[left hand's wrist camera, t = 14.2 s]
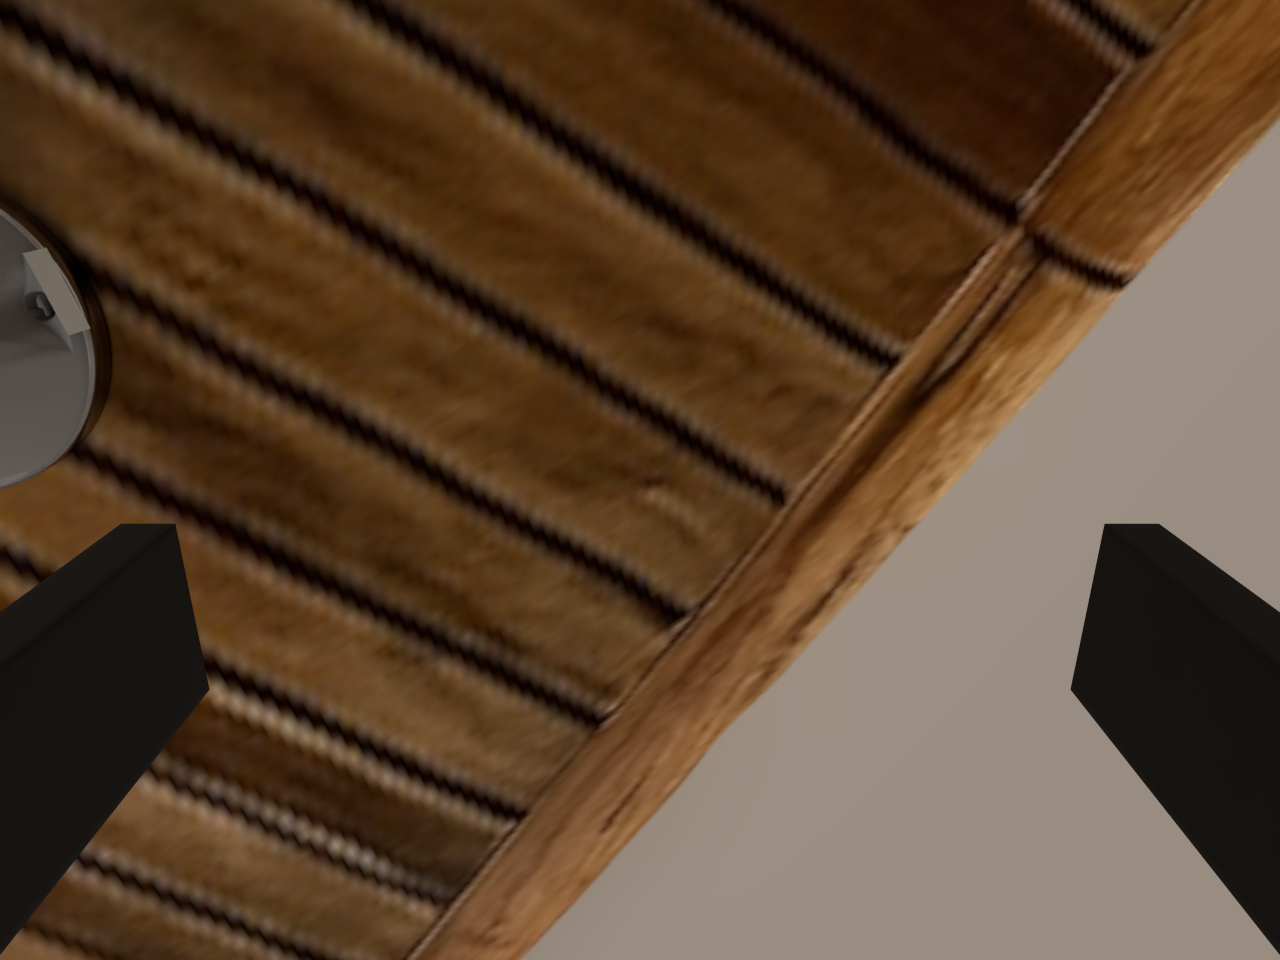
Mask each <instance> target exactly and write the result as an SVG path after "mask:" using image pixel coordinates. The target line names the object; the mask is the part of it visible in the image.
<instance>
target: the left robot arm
mask: <svg viewBox="0 0 1280 960" xmlns="http://www.w3.org/2000/svg"><path fill="white" fill-rule="evenodd" d="M110 370H111V363H110V348H109V341H108V335H107V331H106V327H105V323H104V320H103V317H102V314H101V311H100V308H99V305H98V303H97V301H96V298H95V296H94V294H93V291H92V290H91V288H90V286H89V284H88V282H87V280H86V278H85V277H84V275H83V273H82V272H81V270H80V269H79V267H78V266H77V264H76V263H75V261H74V260H73V259H72V257H71V256H70V255H69V253H68V252H67V251H66V249H65V248H64V247H63V246H62V245H61V244H60V243H59V241H58V240H57V239H56V238H55V237H54V236H53V235H52V234H51V233H50V232H49V231H48V230H47V229H46V228H45V227H44V226H43V225H42V224H41V223H40V222H39V221H38V220H36V219H35V218H34V217H33V216H31V215H30V214H29V213H28V212H27V211H25V210H24V209H23V208H21V207H20V206H18V205H17V204H15V203H14V202H12V201H11V200H10V199H8V198H6V197H5V196H3V195H1V194H0V488H4V487H8V486H11V485H14V484H17V483H20V482H22V481H24V480H27V479H29V478H31V477H33V476H35V475H37V474H39V473H40V472H42V471H44V470H46V469H48V468H49V467H51V466H53V465H55V464H56V463H58V462H60V461H61V460H63V459H65V458H66V457H67V456H68V455H70V454H71V453H72V452H74V451H75V450H76V449H77V448H78V447H79V446H80V445H81V444H82V443H83V442H84V440H85V439H86V438H87V437H88V435H89V434H90V433H91V431H92V430H93V428H94V426H95V425H96V423H97V421H98V419H99V417H100V415H101V412H102V410H103V408H104V404H105V401H106V398H107V394H108V388H109V383H110ZM208 691H209V685H208V680H207V676H206V671H205V666H204V661H203V656H202V651H201V646H200V642H199V637H198V632H197V627H196V622H195V617H194V612H193V607H192V603H191V598H190V593H189V588H188V583H187V578H186V573H185V569H184V564H183V559H182V554H181V549H180V544H179V539H178V534H177V530H176V525H175V524H120V525H119V526H117V527H116V528H115V529H113V530H112V531H111V532H109V533H108V534H107V535H105V536H104V537H102V538H101V539H100V540H98V541H97V542H96V543H94V544H93V545H92V546H90V547H89V548H87V549H86V550H85V551H83V552H82V553H81V554H79V555H78V556H76V557H75V558H74V559H72V560H71V561H70V562H68V563H67V564H66V565H64V566H63V567H61V568H60V569H59V570H57V571H56V572H55V573H53V574H52V575H51V576H49V577H48V578H46V579H45V580H44V581H42V582H41V583H40V584H38V585H37V586H36V587H34V588H33V589H31V590H30V591H29V592H27V593H26V594H25V595H23V596H22V597H20V598H19V599H18V600H16V601H15V602H14V603H12V604H11V605H10V606H8V607H7V608H5V609H4V610H3V611H1V612H0V954H1V953H2V952H3V951H4V949H5V948H6V947H7V946H8V944H9V943H10V942H11V940H12V939H13V938H14V937H15V935H16V934H17V933H18V932H19V930H20V929H21V928H22V927H23V925H24V924H25V923H26V921H27V920H28V919H29V918H30V916H31V915H32V914H33V913H34V911H35V910H36V909H37V907H38V906H39V905H40V904H41V902H42V901H43V900H44V899H45V897H46V896H47V895H48V894H49V892H50V891H51V890H52V888H53V887H54V886H55V885H56V883H57V882H58V881H59V880H60V878H61V877H62V876H63V875H64V873H65V872H66V871H67V869H68V868H69V867H70V866H71V864H72V863H73V862H74V861H75V859H76V858H77V857H78V856H79V854H80V853H81V852H82V850H83V849H84V848H85V847H86V845H87V844H88V843H89V842H90V840H91V839H92V838H93V837H94V835H95V834H96V833H97V831H98V830H99V829H100V828H101V826H102V825H103V824H104V823H105V821H106V820H107V819H108V818H109V816H110V815H111V814H112V812H113V811H114V810H115V809H116V807H117V806H118V805H119V804H120V802H121V801H122V800H123V798H124V797H125V796H126V795H127V793H128V792H129V791H130V790H131V788H132V787H133V786H134V785H135V783H136V782H137V781H138V779H139V778H140V777H141V776H142V774H143V773H144V772H145V771H146V769H147V768H148V767H149V766H150V764H151V763H152V762H153V760H154V759H155V758H156V757H157V755H158V754H159V753H160V752H161V750H162V749H163V748H164V747H165V745H166V744H167V743H168V741H169V740H170V739H171V738H172V736H173V735H174V734H175V733H176V731H177V730H178V729H179V728H180V726H181V725H182V724H183V722H184V721H185V720H186V719H187V717H188V716H189V715H190V714H191V712H192V711H193V710H194V708H195V707H196V706H197V705H198V703H199V702H200V701H201V700H202V698H203V697H204V696H205V695H206V693H207V692H208ZM1071 691H1072V692H1073V693H1074V695H1075V696H1076V697H1077V698H1078V699H1079V701H1080V702H1081V703H1082V705H1083V706H1084V707H1085V708H1086V710H1087V711H1088V712H1089V714H1090V715H1091V716H1092V717H1093V719H1094V720H1095V721H1096V722H1097V724H1098V725H1099V726H1100V727H1101V729H1102V730H1103V731H1104V733H1105V734H1106V735H1107V736H1108V738H1109V739H1110V740H1111V741H1112V743H1113V744H1114V745H1115V746H1116V748H1117V749H1118V750H1119V751H1120V753H1121V754H1122V755H1123V757H1124V758H1125V759H1126V760H1127V762H1128V763H1129V764H1130V766H1131V767H1132V768H1133V769H1134V771H1135V772H1136V773H1137V774H1138V776H1139V777H1140V778H1141V779H1142V781H1143V782H1144V783H1145V784H1146V786H1147V787H1148V788H1149V790H1150V791H1151V792H1152V793H1153V795H1154V796H1155V797H1156V798H1157V800H1158V801H1159V802H1160V804H1161V805H1162V806H1163V807H1164V809H1165V810H1166V811H1167V812H1168V814H1169V815H1170V816H1171V818H1172V819H1173V820H1174V821H1175V823H1176V824H1177V825H1178V826H1179V828H1180V829H1181V830H1182V831H1183V833H1184V834H1185V835H1186V837H1187V838H1188V839H1189V840H1190V842H1191V843H1192V844H1193V845H1194V847H1195V848H1196V849H1197V850H1198V852H1199V853H1200V854H1201V856H1202V857H1203V858H1204V859H1205V861H1206V862H1207V863H1208V864H1209V866H1210V867H1211V868H1212V869H1213V871H1214V872H1215V873H1216V875H1217V876H1218V877H1219V878H1220V880H1221V881H1222V882H1223V883H1224V885H1225V886H1226V887H1227V888H1228V890H1229V891H1230V892H1231V894H1232V895H1233V896H1234V897H1235V899H1236V900H1237V901H1238V902H1239V904H1240V905H1241V906H1242V907H1243V909H1244V910H1245V911H1246V913H1247V914H1248V915H1249V916H1250V918H1251V919H1252V920H1253V921H1254V923H1255V924H1256V925H1257V926H1258V928H1259V929H1260V930H1261V932H1262V933H1263V934H1264V935H1265V937H1266V938H1267V939H1268V940H1269V942H1270V943H1271V944H1272V946H1273V947H1274V948H1275V949H1276V951H1277V952H1278V953H1279V954H1280V612H1279V611H1277V610H1276V609H1275V608H1273V607H1272V606H1270V605H1269V604H1268V603H1266V602H1265V601H1264V600H1262V599H1261V598H1260V597H1258V596H1257V595H1255V594H1254V593H1253V592H1251V591H1250V590H1249V589H1247V588H1246V587H1244V586H1243V585H1242V584H1240V583H1239V582H1238V581H1236V580H1235V579H1234V578H1232V577H1231V576H1229V575H1228V574H1227V573H1225V572H1224V571H1223V570H1221V569H1220V568H1219V567H1217V566H1216V565H1214V564H1213V563H1212V562H1210V561H1209V560H1208V559H1206V558H1205V557H1204V556H1202V555H1201V554H1199V553H1198V552H1197V551H1195V550H1194V549H1193V548H1191V547H1190V546H1188V545H1187V544H1186V543H1184V542H1183V541H1182V540H1180V539H1179V538H1178V537H1176V536H1175V535H1173V534H1172V533H1171V532H1169V531H1168V530H1167V529H1165V528H1164V527H1162V526H1161V525H1160V524H1105V525H1104V530H1103V534H1102V539H1101V544H1100V549H1099V554H1098V559H1097V564H1096V569H1095V573H1094V578H1093V583H1092V588H1091V593H1090V598H1089V603H1088V608H1087V612H1086V617H1085V622H1084V627H1083V632H1082V637H1081V642H1080V646H1079V651H1078V656H1077V661H1076V666H1075V671H1074V676H1073V680H1072V685H1071Z"/></svg>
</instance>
